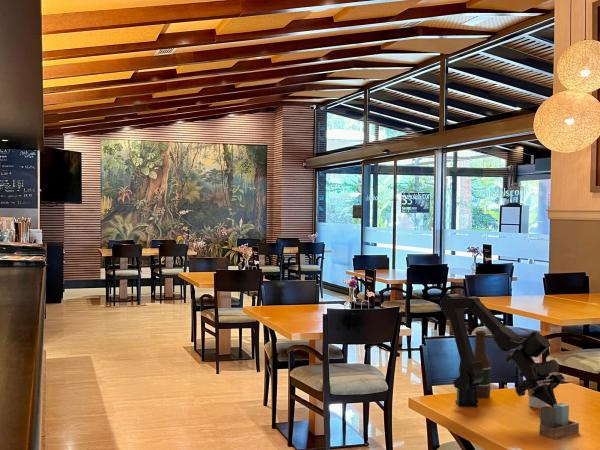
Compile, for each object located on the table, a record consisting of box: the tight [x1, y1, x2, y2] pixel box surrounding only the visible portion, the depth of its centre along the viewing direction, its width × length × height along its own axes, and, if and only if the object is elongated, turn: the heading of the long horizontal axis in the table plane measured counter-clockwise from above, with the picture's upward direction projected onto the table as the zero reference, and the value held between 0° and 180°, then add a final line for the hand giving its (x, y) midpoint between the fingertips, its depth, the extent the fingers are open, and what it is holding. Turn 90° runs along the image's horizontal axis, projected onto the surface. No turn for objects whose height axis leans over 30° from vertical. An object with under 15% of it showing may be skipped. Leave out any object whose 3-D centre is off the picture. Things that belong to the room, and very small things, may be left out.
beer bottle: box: [473, 330, 492, 399], centre depth 247 cm, size 8×8×24 cm
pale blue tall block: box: [554, 402, 570, 425], centre depth 208 cm, size 3×4×8 cm
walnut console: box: [539, 419, 580, 440], centre depth 205 cm, size 6×12×3 cm, turn 124°
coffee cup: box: [527, 362, 551, 409], centre depth 235 cm, size 8×8×15 cm
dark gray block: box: [539, 405, 556, 428], centre depth 204 cm, size 3×4×8 cm
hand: (556, 407), depth 209 cm, fingers closed, pressing on pale blue tall block
